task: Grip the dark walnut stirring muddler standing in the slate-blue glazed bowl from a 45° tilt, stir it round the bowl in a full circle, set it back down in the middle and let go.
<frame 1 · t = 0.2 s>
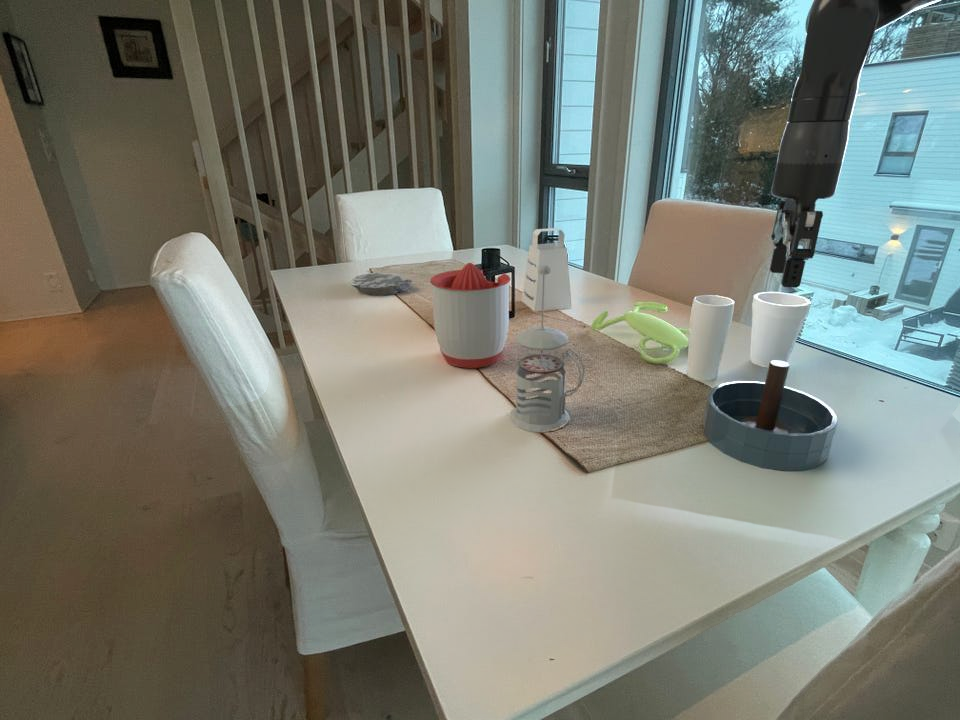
hand: (783, 279, 74), 22 cm above the table, tool pointing down, fingers open, 8 cm apart
brain slice: (379, 290, 157), on the table
french press: (544, 418, 83), on the table
bowl: (761, 441, 75), on the table
stirring muddler: (762, 438, 75), point 1 cm above the table, touching bowl
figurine: (647, 339, 114), on the table
foam cup: (767, 362, 101), on the table
grater: (545, 304, 140), on the table
citrus juicer: (475, 357, 107), on the table
drinking glass: (700, 378, 96), on the table
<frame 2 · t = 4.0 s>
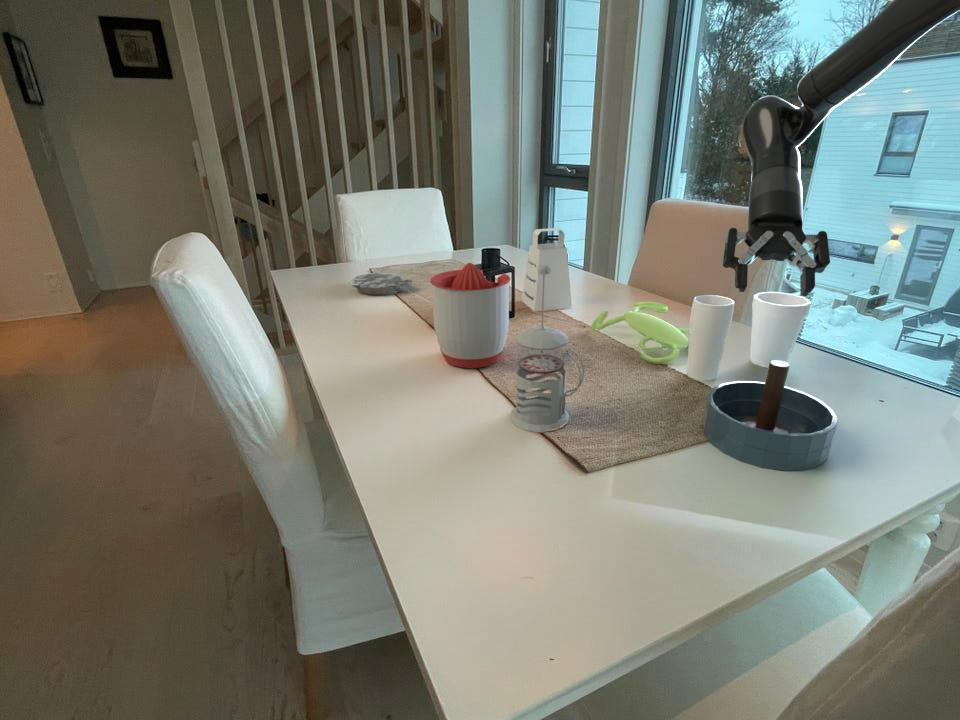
hand: (773, 291, 77), 20 cm above the table, tool tilted 45°, fingers open, 8 cm apart
nothing on the table moved.
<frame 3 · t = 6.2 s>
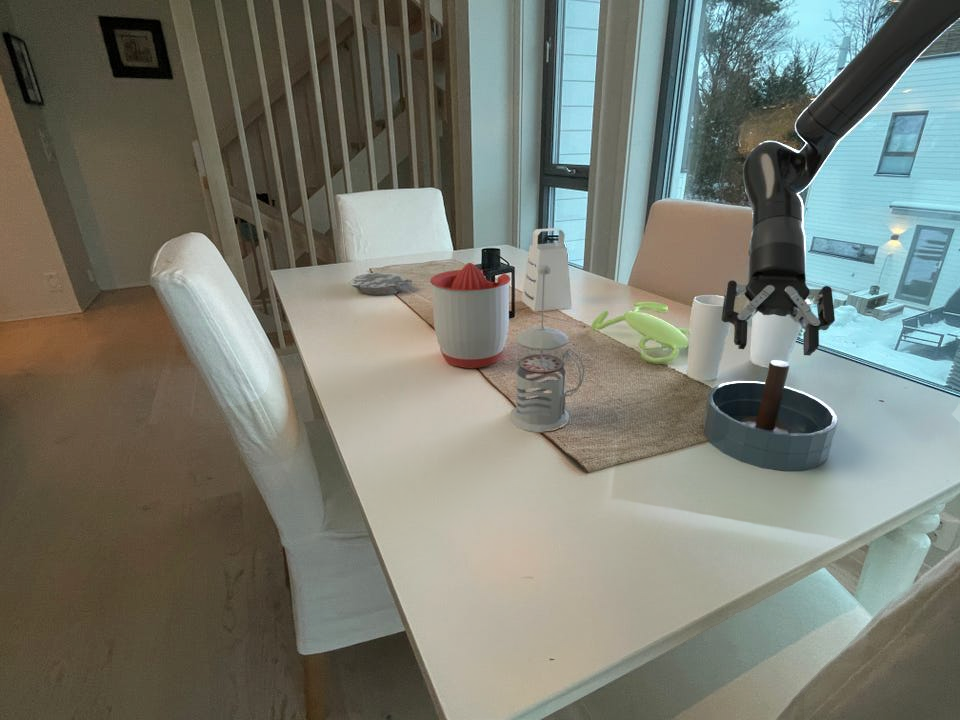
hand: (775, 350, 73), 13 cm above the table, tool tilted 45°, fingers open, 8 cm apart
nothing on the table moved.
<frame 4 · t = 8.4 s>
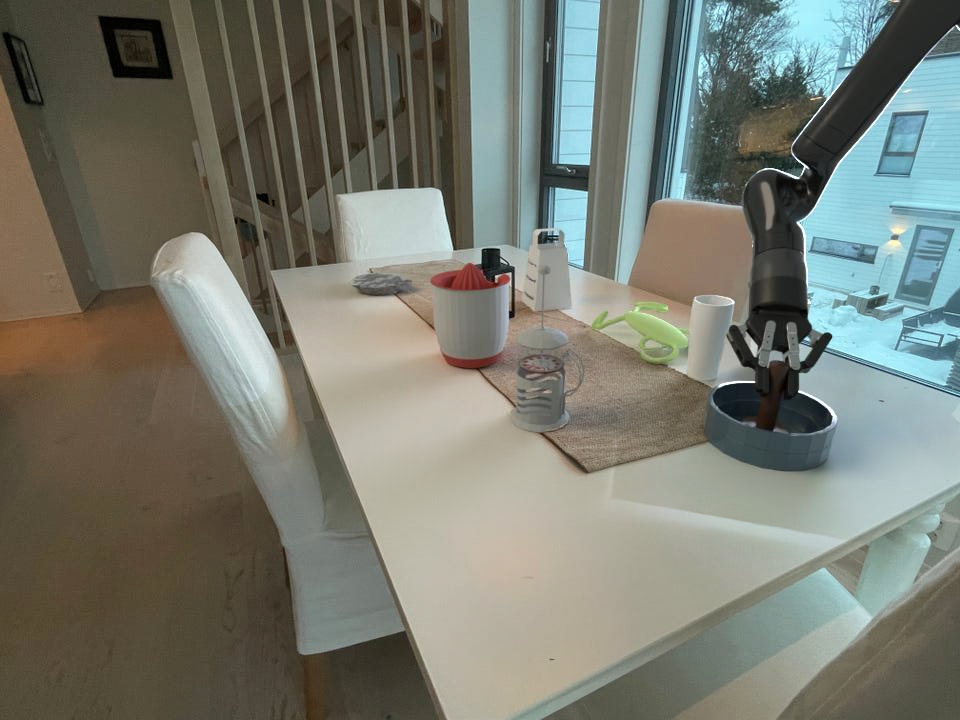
hand: (776, 396, 70), 9 cm above the table, tool tilted 45°, fingers closed on stirring muddler, 2 cm apart
stirring muddler: (762, 438, 75), point 1 cm above the table, touching bowl, gripper
everything else where it was.
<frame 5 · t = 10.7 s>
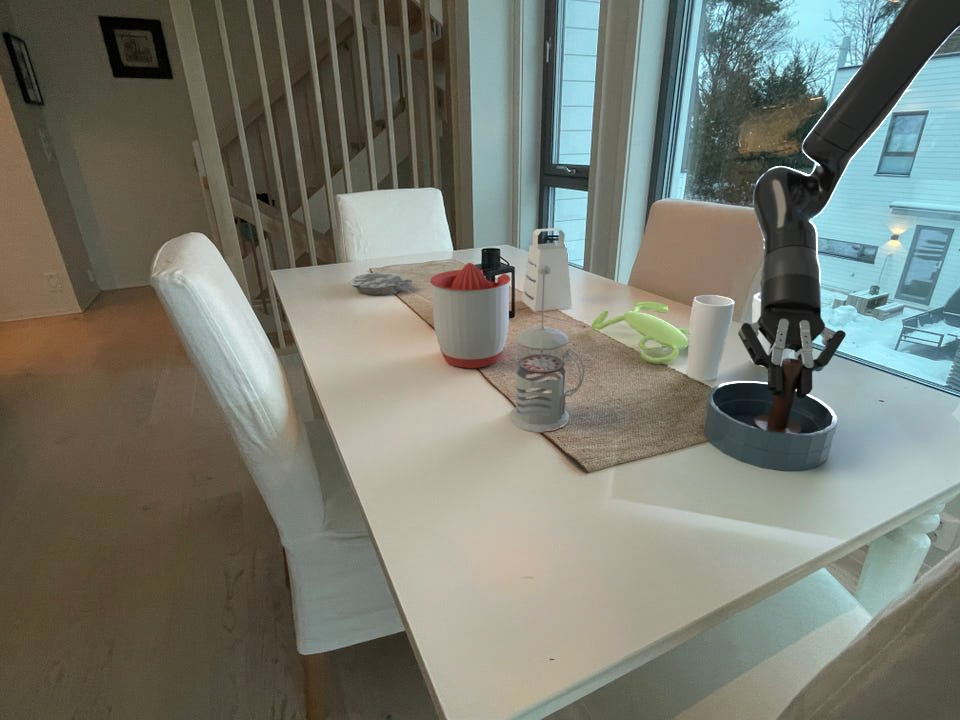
hand: (789, 394, 70), 9 cm above the table, tool tilted 45°, fingers closed on stirring muddler, 2 cm apart
stirring muddler: (774, 436, 75), point 1 cm above the table, touching gripper
everything else where it was.
when the fingers open (9 cm above the table, at t = 13.3 s): stirring muddler stays where it is, resting on bowl.
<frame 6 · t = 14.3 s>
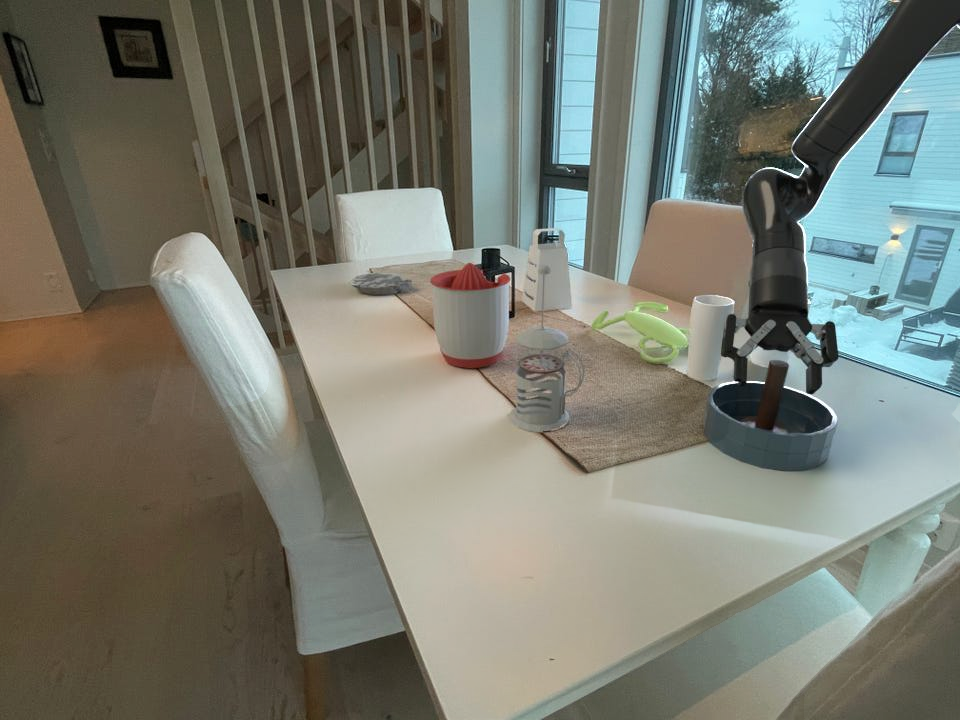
hand: (776, 388, 70), 9 cm above the table, tool tilted 45°, fingers open, 8 cm apart
stirring muddler: (761, 437, 75), point 1 cm above the table, touching bowl
everything else where it was.
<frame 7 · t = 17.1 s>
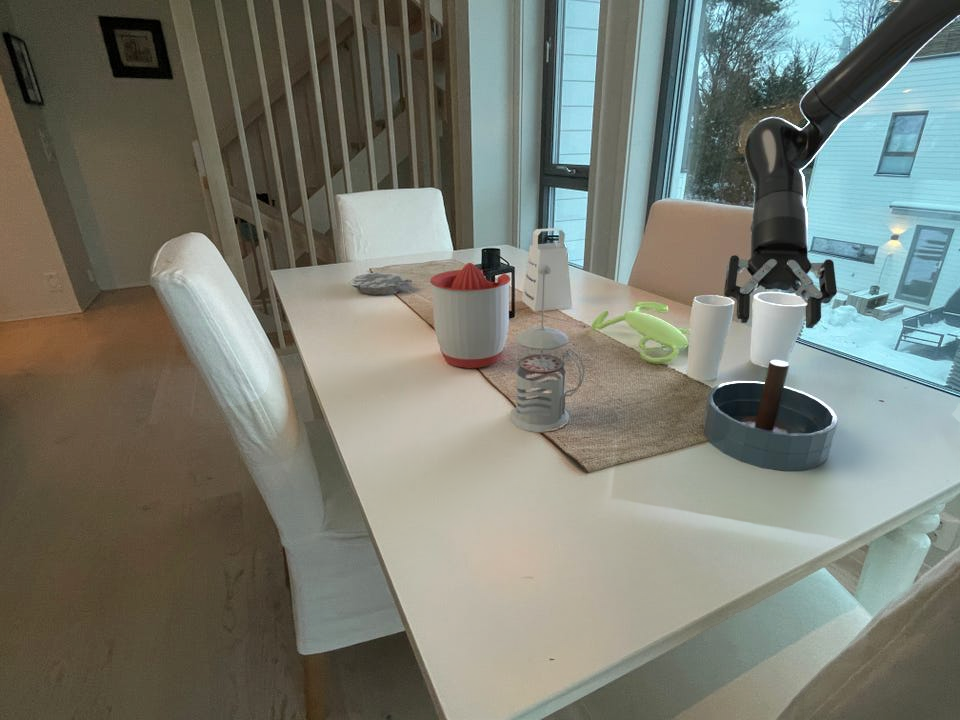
hand: (777, 323, 74), 17 cm above the table, tool tilted 45°, fingers open, 8 cm apart
nothing on the table moved.
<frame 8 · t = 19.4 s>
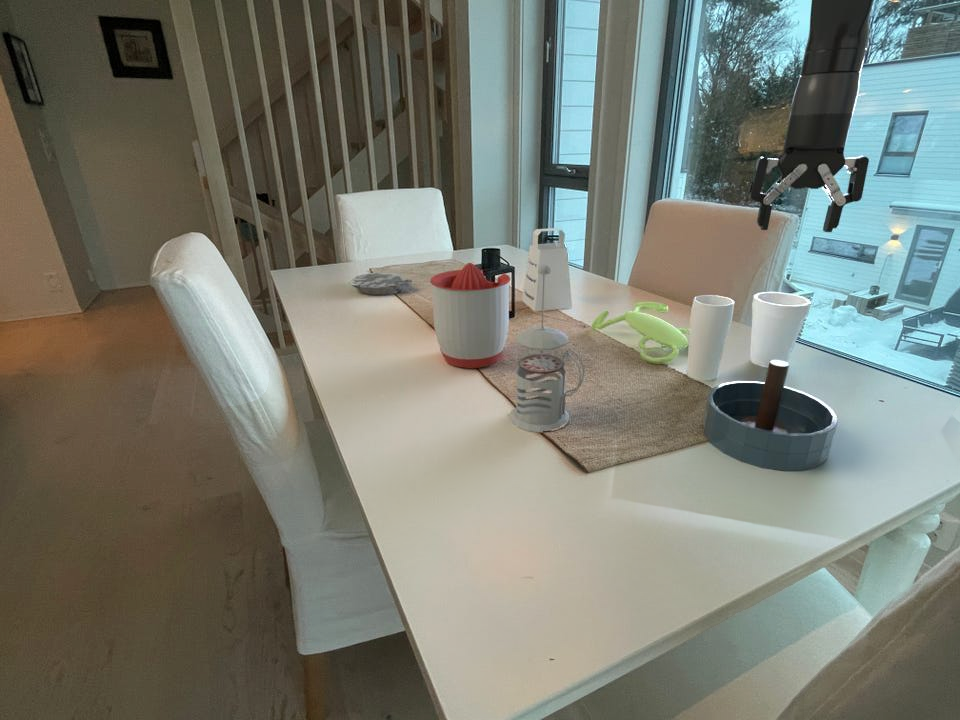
hand: (795, 230, 78), 28 cm above the table, tool pointing down, fingers open, 8 cm apart
nothing on the table moved.
at the end: stirring muddler inside the target area in the bowl (0.1 cm from its centre), point 0.6 cm above the bowl's base; stirring muddler tilted 0°; the gripper is holding nothing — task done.
